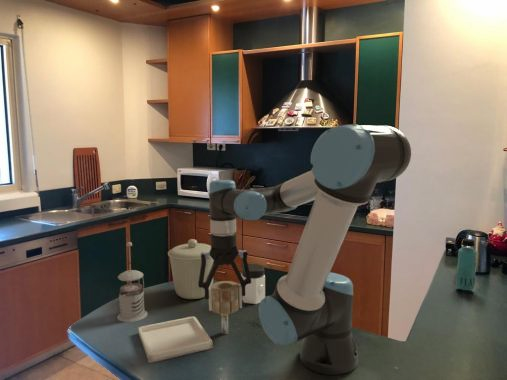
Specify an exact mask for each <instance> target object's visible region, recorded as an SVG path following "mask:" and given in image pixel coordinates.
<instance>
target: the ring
mask: <svg viewBox="0 0 507 380" xmlns="http://www.w3.org/2000/svg"><path fill="white" fill-rule="evenodd" d="M238 284H239V283H238V282H235V281H232V280H222V281H217V282H213V284H212V285H211V292H212V312H213V313H215V314H218V315H220V313H221V314H229V315H230V314H233V313H236V312H238V311H239V310H240V308H239V287H238Z"/></svg>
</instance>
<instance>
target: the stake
mask: <svg viewBox="0 0 507 380" xmlns="http://www.w3.org/2000/svg"><path fill="white" fill-rule="evenodd" d="M219 315H220V316H221V321H220V322H221V334H222V335H228V334H229V315H230V314H221V313H220V314H219Z"/></svg>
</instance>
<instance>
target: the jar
mask: <svg viewBox="0 0 507 380" xmlns="http://www.w3.org/2000/svg"><path fill="white" fill-rule="evenodd" d="M248 268H249V273H250V278H251V283H250V284H247V285H246V286H245V296H242V303H244V304H252V305H259V304H260V302H261V300H262V299H264V298H265V297H266V275H265V266H263V265H261V264H259V263H258V264H255V263H249V264H248ZM240 274H241V276H242V278H243V280H244V279H246V277H245V272H244V267H243V266H242V267H241V272H240Z"/></svg>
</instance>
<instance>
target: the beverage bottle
mask: <svg viewBox="0 0 507 380" xmlns="http://www.w3.org/2000/svg"><path fill="white" fill-rule="evenodd" d="M461 245H462V247H461V248H459V249H458V250H457V252H458V254H457V268H456V278H455V281H456V282H455V286H456V288H457V289H460V290H464V291H472V290H474V289H475V286H476V285H475V284H476V271H477V270H476V269H477V263H478V262H477V260H478V259H477V254H478V252H477V251H476V250H475V249H474V248H473V247H474V246H475V240H474V239H471V238H462V242H461Z"/></svg>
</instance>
